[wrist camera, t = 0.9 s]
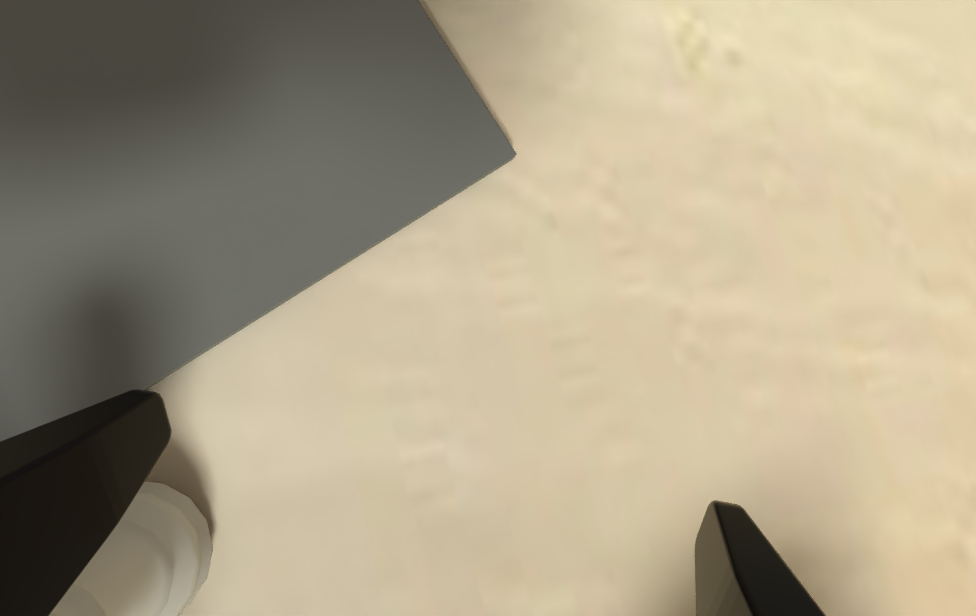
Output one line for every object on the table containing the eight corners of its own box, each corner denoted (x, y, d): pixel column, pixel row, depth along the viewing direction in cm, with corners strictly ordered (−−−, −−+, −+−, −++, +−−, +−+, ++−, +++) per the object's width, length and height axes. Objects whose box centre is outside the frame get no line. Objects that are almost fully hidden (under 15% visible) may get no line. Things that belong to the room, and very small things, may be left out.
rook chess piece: (95, 455, 17) (-127, 554, 10) (240, 502, 18) (143, 628, 10) (29, 600, 17) (-262, 828, 9) (181, 642, 18) (32, 885, 10)
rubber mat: (27, 463, 17) (14, 468, 16) (-280, 56, 16) (-304, 46, 15) (512, 159, 21) (516, 154, 20) (287, -192, 20) (284, -208, 19)
